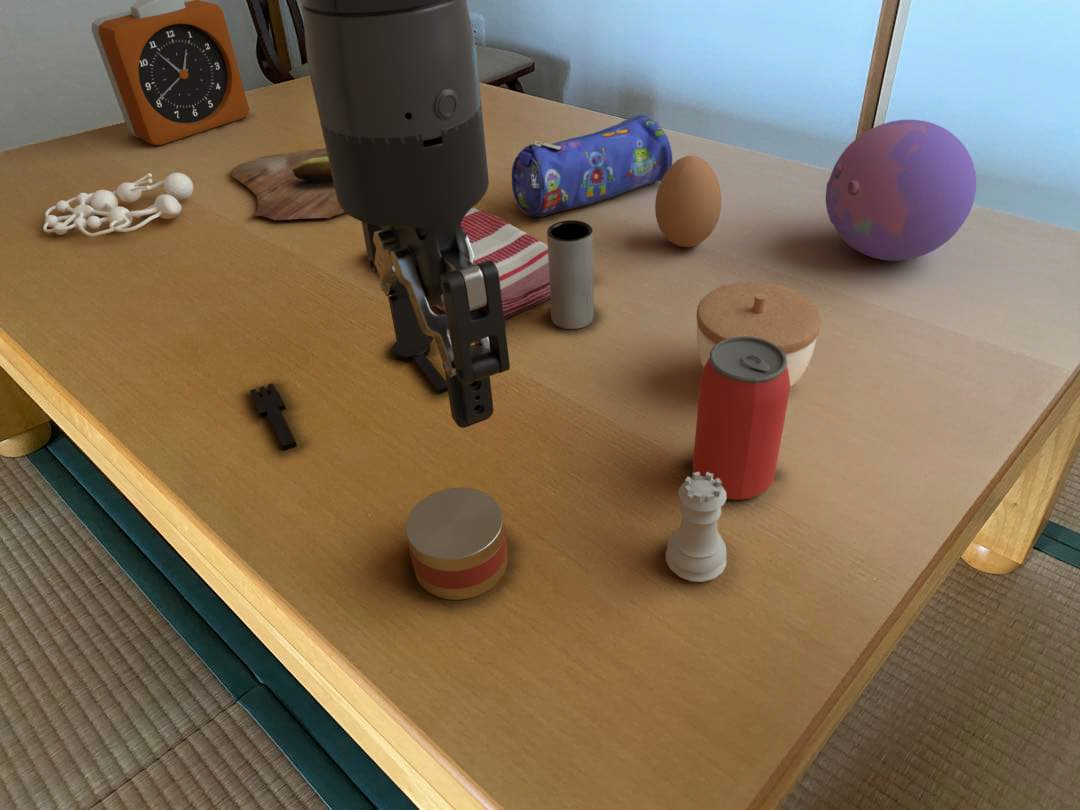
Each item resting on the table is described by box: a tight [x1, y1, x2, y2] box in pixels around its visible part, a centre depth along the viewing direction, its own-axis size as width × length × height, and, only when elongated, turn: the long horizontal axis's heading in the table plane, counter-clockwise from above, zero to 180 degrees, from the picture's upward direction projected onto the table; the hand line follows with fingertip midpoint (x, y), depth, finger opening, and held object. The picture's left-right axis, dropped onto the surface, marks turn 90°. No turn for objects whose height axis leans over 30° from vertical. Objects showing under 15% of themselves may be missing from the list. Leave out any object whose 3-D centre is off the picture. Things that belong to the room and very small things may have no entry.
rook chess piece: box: [665, 472, 728, 583], centre depth 58 cm, size 4×4×8 cm
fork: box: [249, 382, 298, 451], centre depth 76 cm, size 10×2×1 cm, turn 29°
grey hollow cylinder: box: [546, 219, 595, 330], centre depth 84 cm, size 4×4×10 cm
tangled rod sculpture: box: [42, 172, 194, 238], centre depth 111 cm, size 19×14×4 cm
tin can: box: [405, 487, 508, 601], centre depth 60 cm, size 7×7×4 cm
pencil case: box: [511, 114, 673, 218], centre depth 107 cm, size 22×9×10 cm, turn 119°
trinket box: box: [696, 281, 822, 388], centre depth 74 cm, size 11×11×9 cm
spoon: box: [392, 341, 448, 395], centre depth 82 cm, size 10×4×1 cm, turn 29°
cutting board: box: [231, 147, 346, 221], centre depth 120 cm, size 35×27×4 cm
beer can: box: [692, 336, 791, 501], centre depth 64 cm, size 7×7×12 cm
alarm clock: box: [91, 0, 250, 147], centre depth 134 cm, size 18×9×21 cm, turn 136°
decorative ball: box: [825, 119, 977, 262], centre depth 90 cm, size 15×15×15 cm
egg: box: [654, 155, 722, 248], centre depth 95 cm, size 8×8×11 cm
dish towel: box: [365, 206, 550, 320], centre depth 96 cm, size 17×23×3 cm
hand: (443, 380), depth 48 cm, fingers open, 8 cm apart
